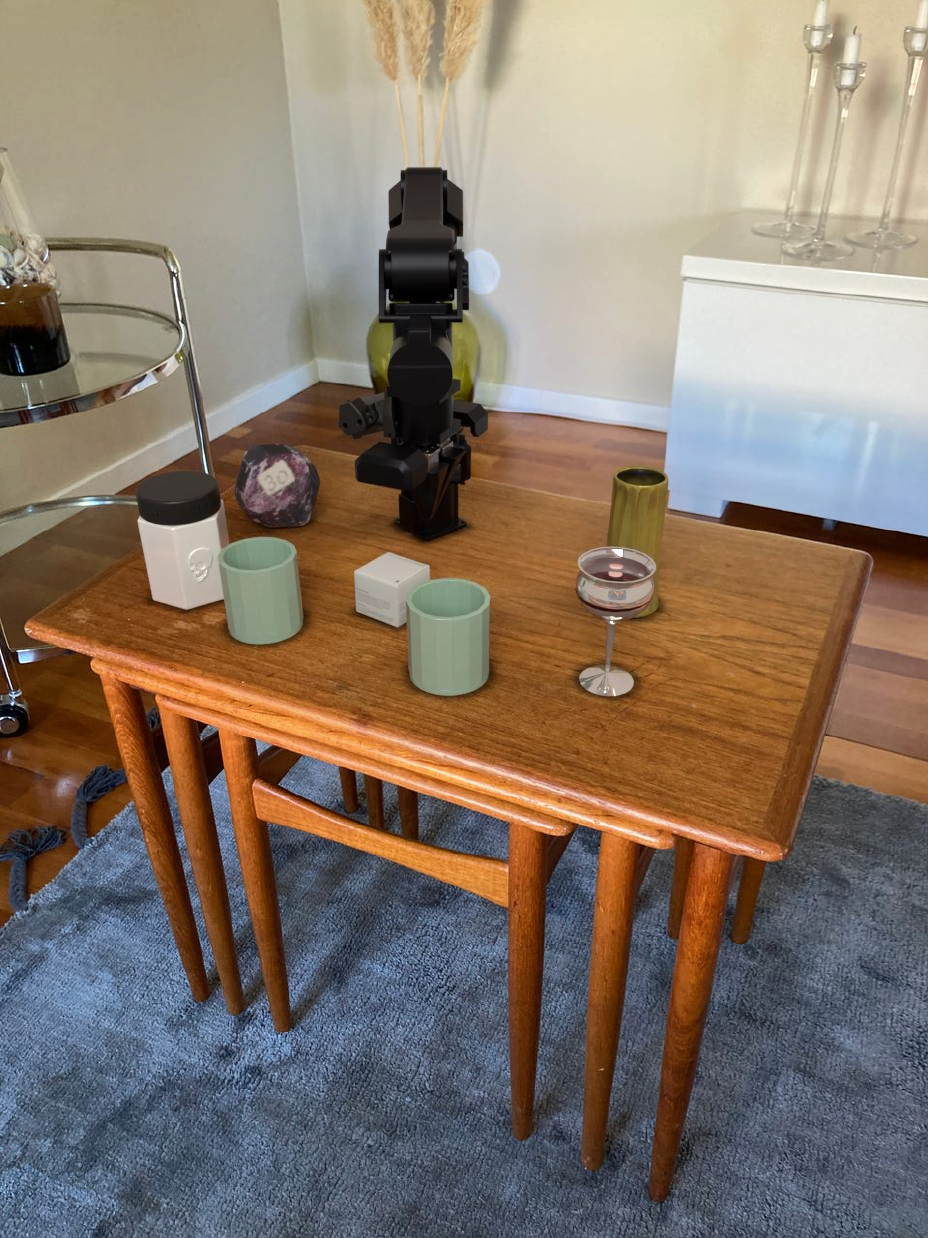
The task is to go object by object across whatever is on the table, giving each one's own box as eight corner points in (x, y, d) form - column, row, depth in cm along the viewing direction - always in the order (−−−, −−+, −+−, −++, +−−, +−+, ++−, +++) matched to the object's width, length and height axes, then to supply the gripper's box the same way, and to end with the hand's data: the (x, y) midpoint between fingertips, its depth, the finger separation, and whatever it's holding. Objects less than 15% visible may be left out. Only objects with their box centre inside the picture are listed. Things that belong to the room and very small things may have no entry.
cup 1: (279, 598, 101) (271, 530, 97) (317, 627, 96) (310, 555, 92) (215, 622, 97) (203, 551, 93) (251, 653, 92) (241, 579, 88)
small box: (432, 606, 99) (431, 564, 97) (397, 629, 95) (395, 586, 93) (389, 590, 102) (387, 549, 100) (354, 612, 98) (351, 570, 96)
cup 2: (454, 642, 93) (453, 569, 89) (505, 675, 89) (507, 600, 84) (393, 670, 89) (389, 595, 85) (443, 706, 84) (442, 628, 80)
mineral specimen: (215, 523, 112) (221, 436, 111) (261, 522, 122) (267, 442, 121) (289, 533, 109) (296, 444, 108) (330, 531, 119) (337, 450, 118)
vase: (664, 596, 101) (680, 469, 94) (648, 624, 96) (663, 492, 89) (608, 585, 103) (619, 459, 96) (590, 611, 98) (600, 481, 91)
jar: (166, 618, 97) (145, 510, 91) (141, 585, 103) (120, 481, 97) (249, 594, 102) (234, 489, 95) (220, 563, 107) (205, 463, 101)
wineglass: (656, 694, 86) (671, 576, 80) (586, 707, 84) (595, 588, 78) (624, 655, 91) (636, 541, 85) (558, 666, 90) (564, 552, 84)
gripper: (396, 339, 104) (401, 474, 112) (300, 389, 89) (314, 540, 97) (490, 351, 100) (489, 490, 108) (406, 405, 85) (412, 561, 93)
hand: (427, 518), depth 102 cm, fingers closed
